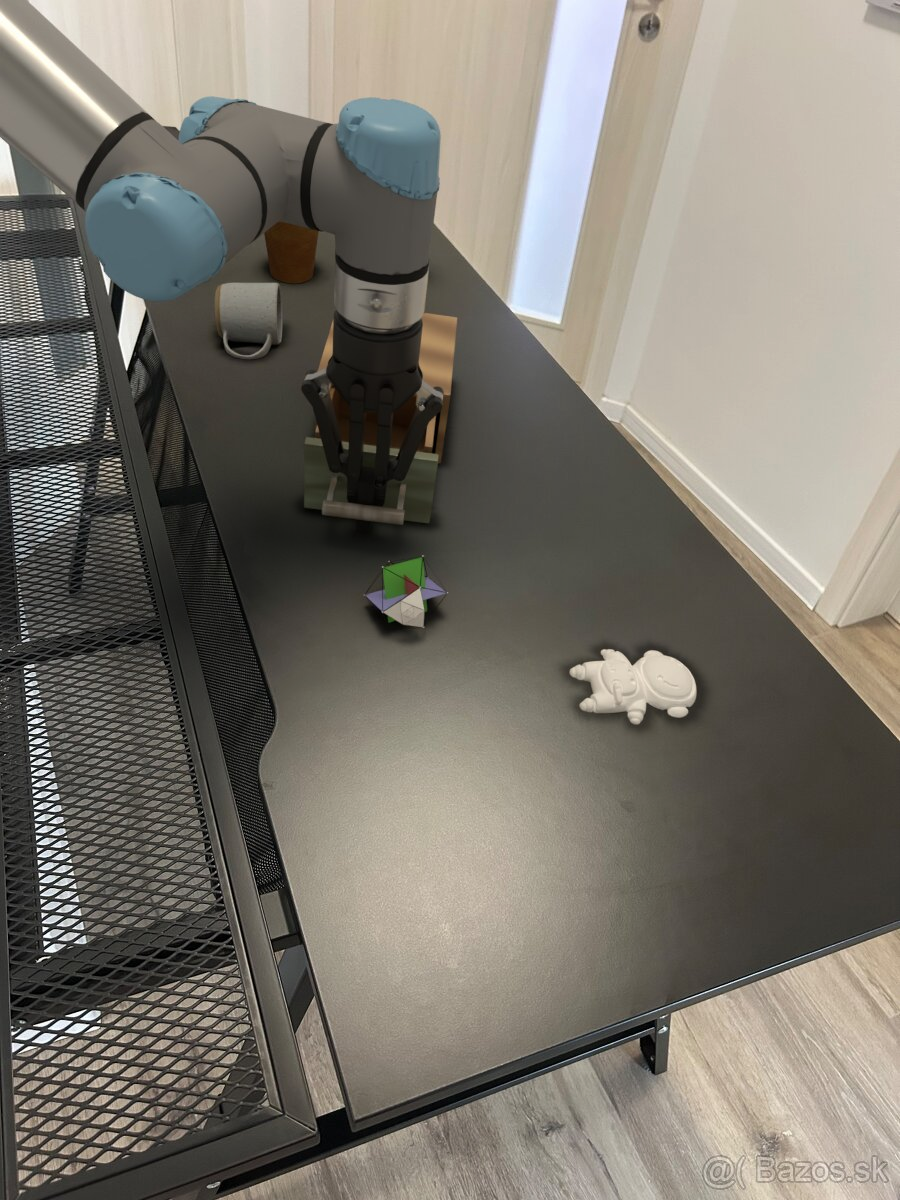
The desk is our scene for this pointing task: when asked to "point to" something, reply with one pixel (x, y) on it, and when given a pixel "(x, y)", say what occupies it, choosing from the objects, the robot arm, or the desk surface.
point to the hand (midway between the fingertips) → (364, 525)
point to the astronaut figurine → (637, 685)
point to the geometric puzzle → (405, 592)
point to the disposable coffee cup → (291, 252)
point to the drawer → (401, 496)
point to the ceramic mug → (249, 315)
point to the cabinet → (427, 362)
